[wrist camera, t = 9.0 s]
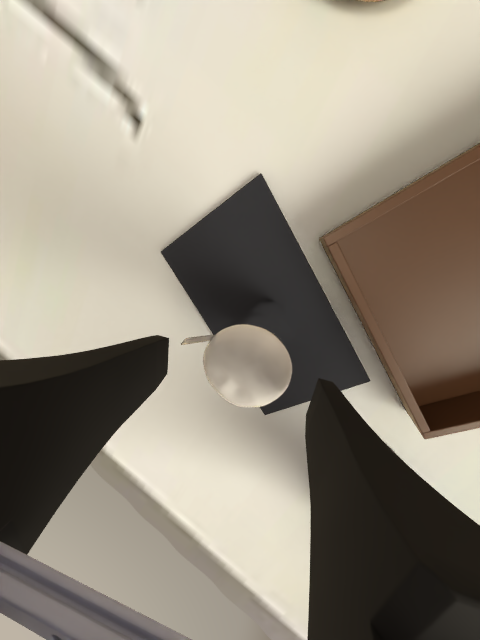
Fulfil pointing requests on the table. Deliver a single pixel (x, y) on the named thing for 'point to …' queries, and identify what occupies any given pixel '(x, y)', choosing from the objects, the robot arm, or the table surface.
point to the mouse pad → (264, 287)
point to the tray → (421, 291)
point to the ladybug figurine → (371, 0)
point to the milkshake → (249, 356)
